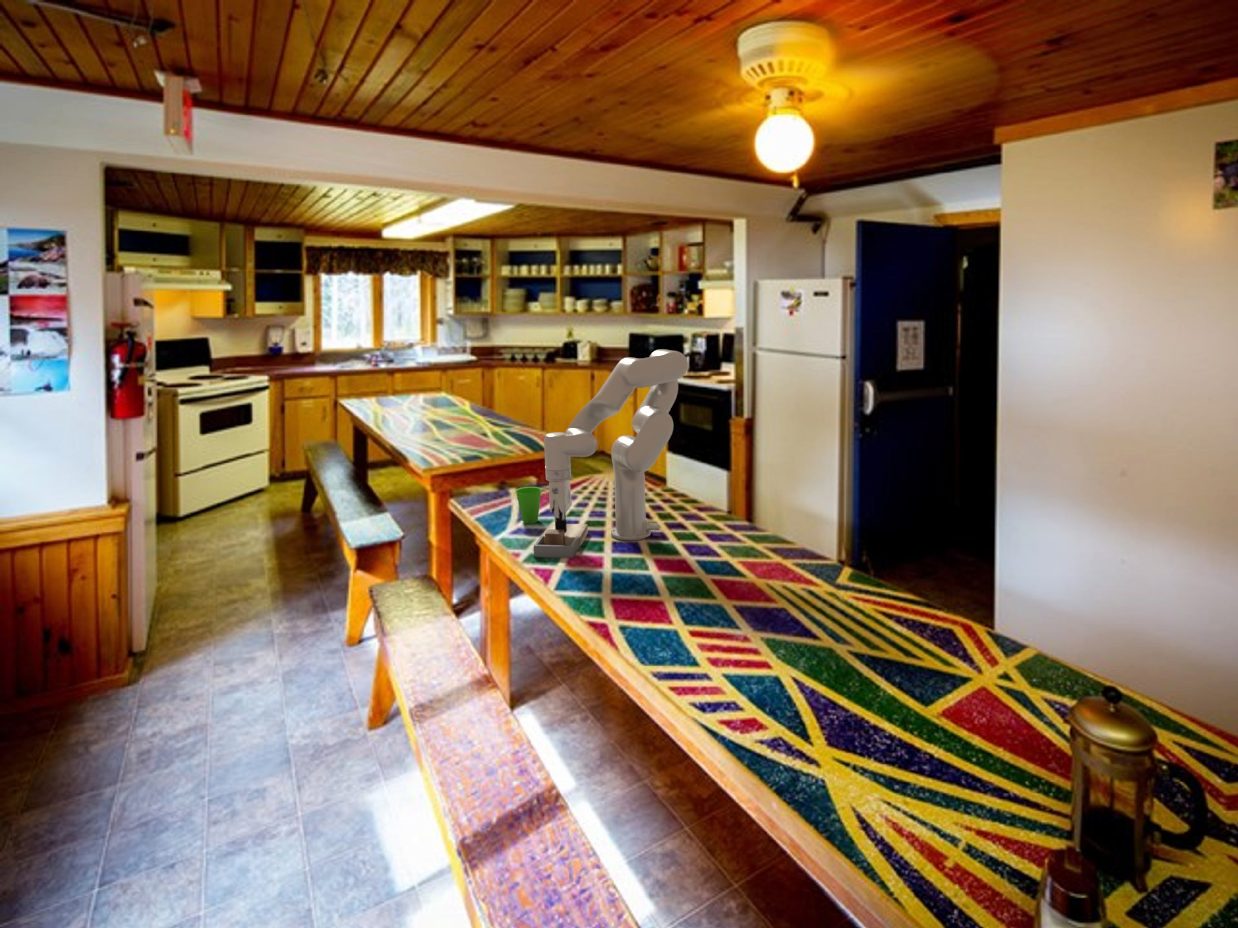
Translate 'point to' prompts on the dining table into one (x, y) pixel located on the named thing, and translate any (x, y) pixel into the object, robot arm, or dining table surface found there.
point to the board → (572, 532)
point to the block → (554, 537)
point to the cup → (529, 503)
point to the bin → (555, 549)
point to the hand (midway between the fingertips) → (561, 532)
